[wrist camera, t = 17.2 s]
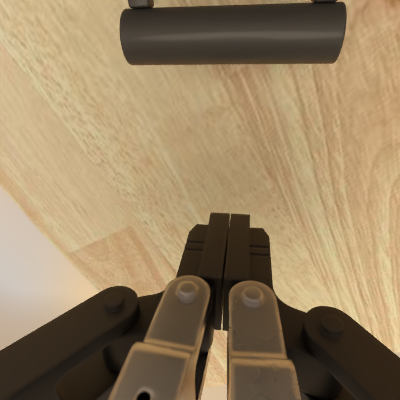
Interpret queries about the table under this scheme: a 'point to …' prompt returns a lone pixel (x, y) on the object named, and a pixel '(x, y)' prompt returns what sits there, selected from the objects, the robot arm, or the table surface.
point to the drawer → (233, 33)
